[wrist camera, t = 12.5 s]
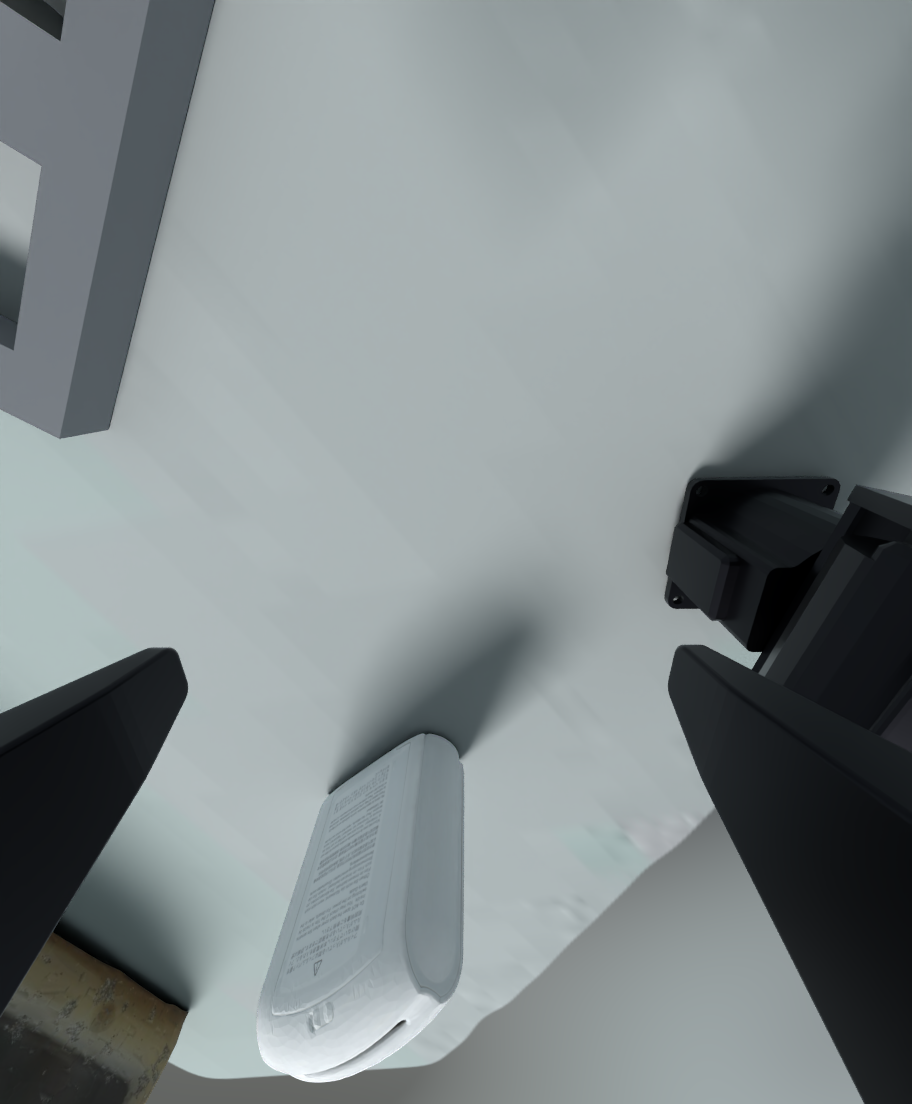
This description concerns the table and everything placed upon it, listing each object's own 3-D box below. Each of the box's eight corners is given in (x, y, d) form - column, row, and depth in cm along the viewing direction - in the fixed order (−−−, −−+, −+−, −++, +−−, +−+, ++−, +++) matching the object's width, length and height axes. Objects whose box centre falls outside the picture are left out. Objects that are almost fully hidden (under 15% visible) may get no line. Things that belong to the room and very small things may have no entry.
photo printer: (362, 831, 30) (299, 1122, 18) (313, 798, 28) (213, 1089, 17) (474, 757, 27) (484, 1049, 15) (426, 718, 25) (397, 1003, 14)
